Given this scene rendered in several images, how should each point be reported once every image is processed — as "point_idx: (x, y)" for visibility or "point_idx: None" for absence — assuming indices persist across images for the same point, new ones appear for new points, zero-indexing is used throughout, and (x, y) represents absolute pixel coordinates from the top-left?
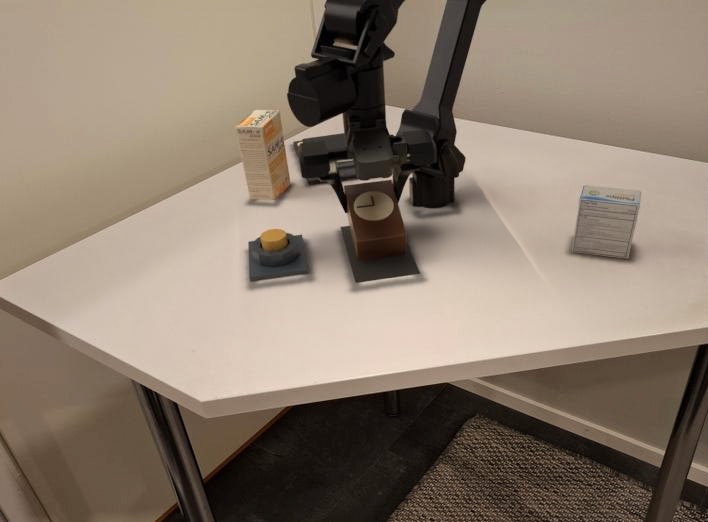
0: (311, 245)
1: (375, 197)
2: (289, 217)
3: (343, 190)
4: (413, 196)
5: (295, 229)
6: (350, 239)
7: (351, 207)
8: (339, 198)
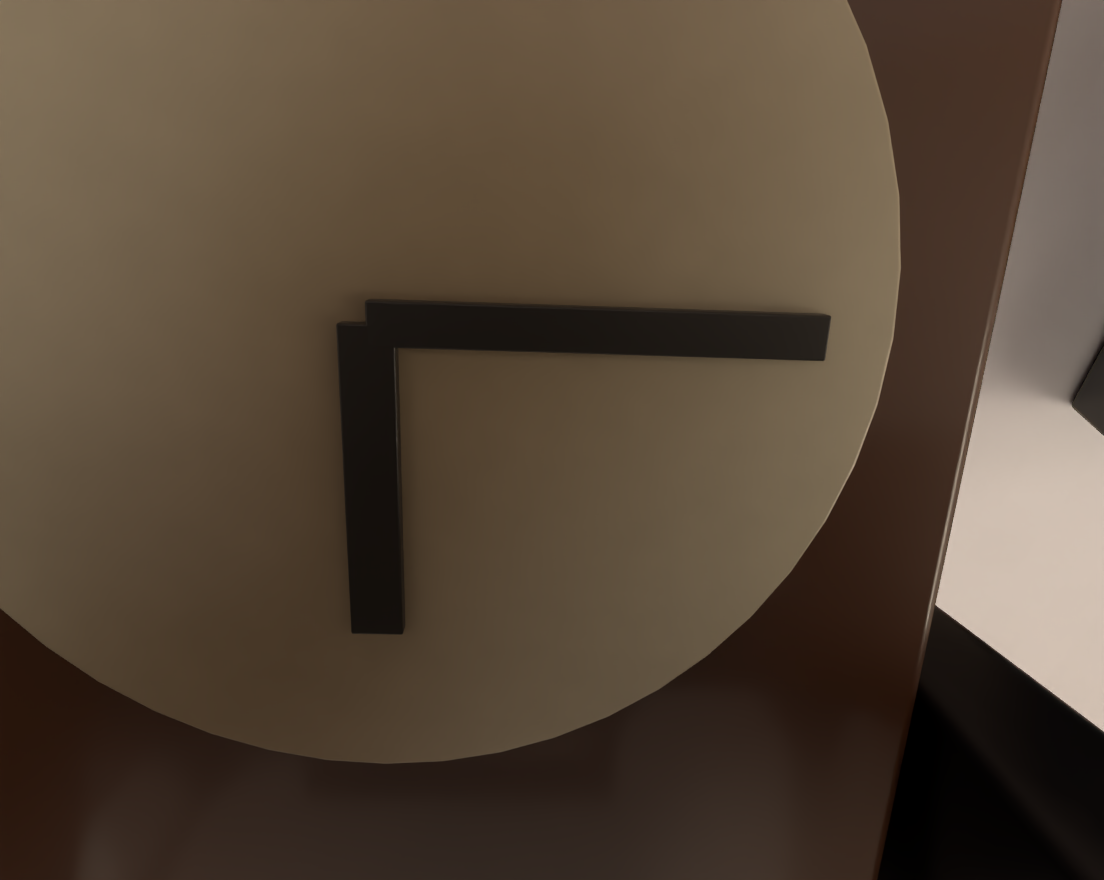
0: (1018, 373)
1: (288, 575)
2: None
3: (1082, 878)
4: None
5: (1000, 600)
6: None
7: (926, 390)
8: (1049, 703)
